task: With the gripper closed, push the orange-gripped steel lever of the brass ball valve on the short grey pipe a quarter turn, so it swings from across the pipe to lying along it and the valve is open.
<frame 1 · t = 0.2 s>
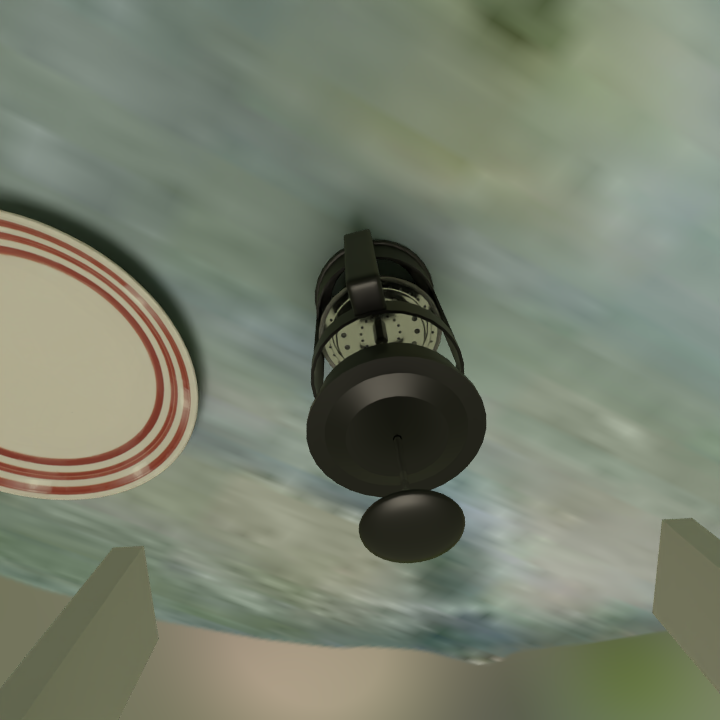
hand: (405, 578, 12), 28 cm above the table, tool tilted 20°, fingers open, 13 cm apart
dinner plate: (39, 359, 41), on the table
french press: (372, 290, 38), on the table
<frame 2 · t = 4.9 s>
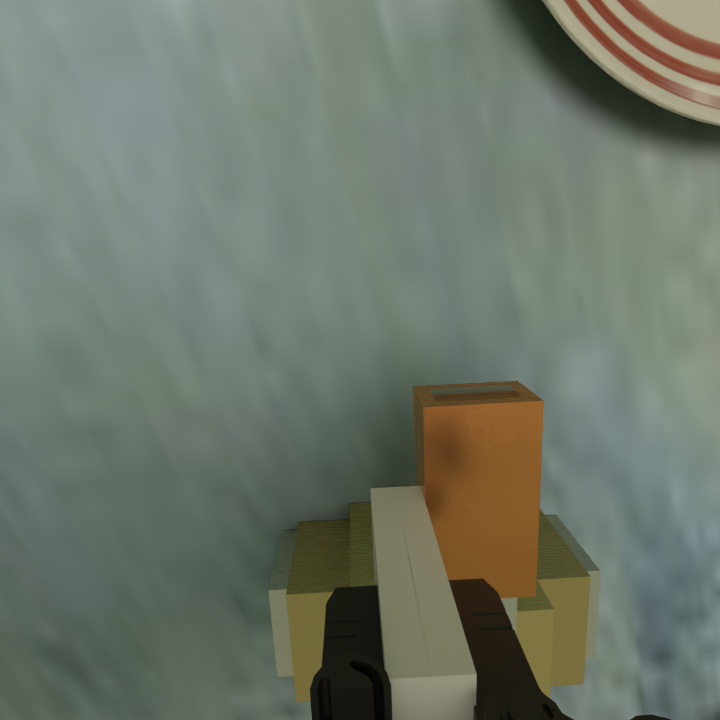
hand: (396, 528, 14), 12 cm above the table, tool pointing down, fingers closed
valve pipe: (420, 560, 29), on the table
valve lever: (467, 609, 16), point 11 cm above the table, hinge at 0.0°, touching gripper
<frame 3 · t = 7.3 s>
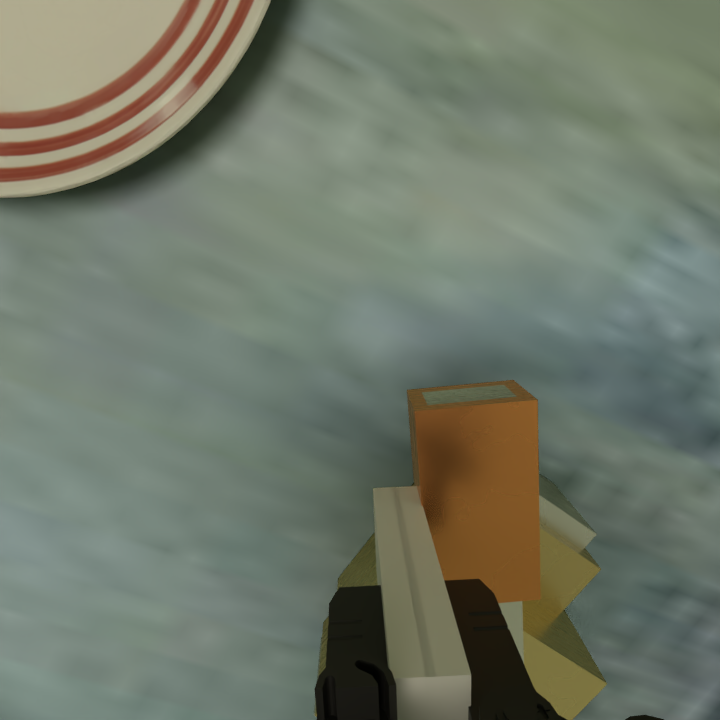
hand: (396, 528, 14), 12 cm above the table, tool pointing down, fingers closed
valve pipe: (432, 563, 28), on the table
valve lever: (473, 614, 16), point 11 cm above the table, hinge at -49.4°, touching gripper
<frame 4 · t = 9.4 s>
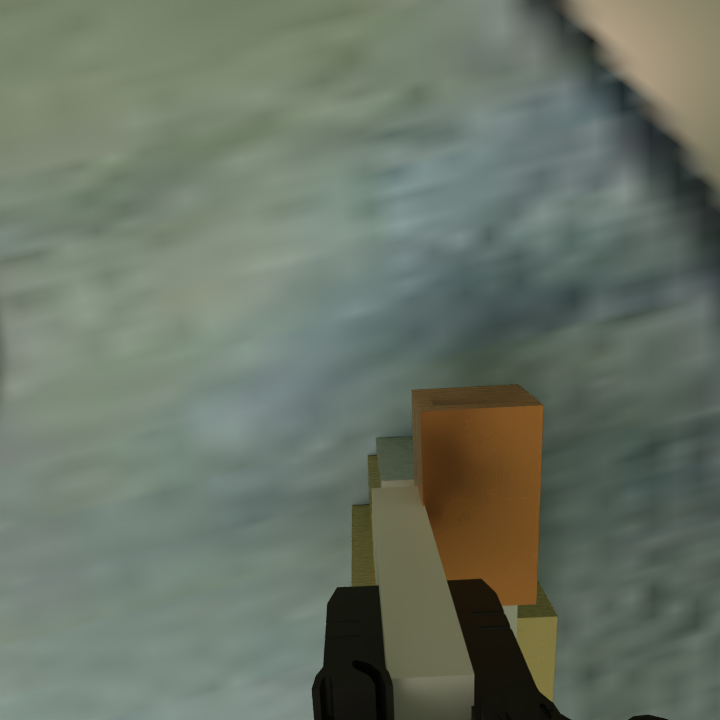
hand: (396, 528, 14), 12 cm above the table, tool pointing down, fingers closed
valve pipe: (423, 564, 28), on the table
valve lever: (467, 616, 16), point 11 cm above the table, hinge at -89.5°, touching gripper
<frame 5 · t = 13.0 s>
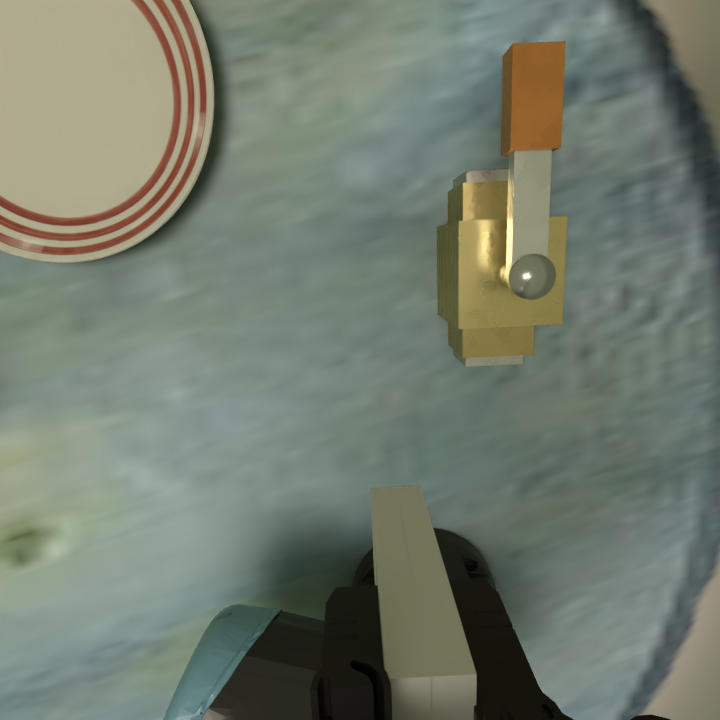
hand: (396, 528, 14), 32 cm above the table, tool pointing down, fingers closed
valve pipe: (480, 269, 45), on the table
valve lever: (525, 181, 32), point 11 cm above the table, hinge at -90.0°
dinner plate: (64, 100, 41), on the table
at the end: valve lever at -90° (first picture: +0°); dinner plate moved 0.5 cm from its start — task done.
